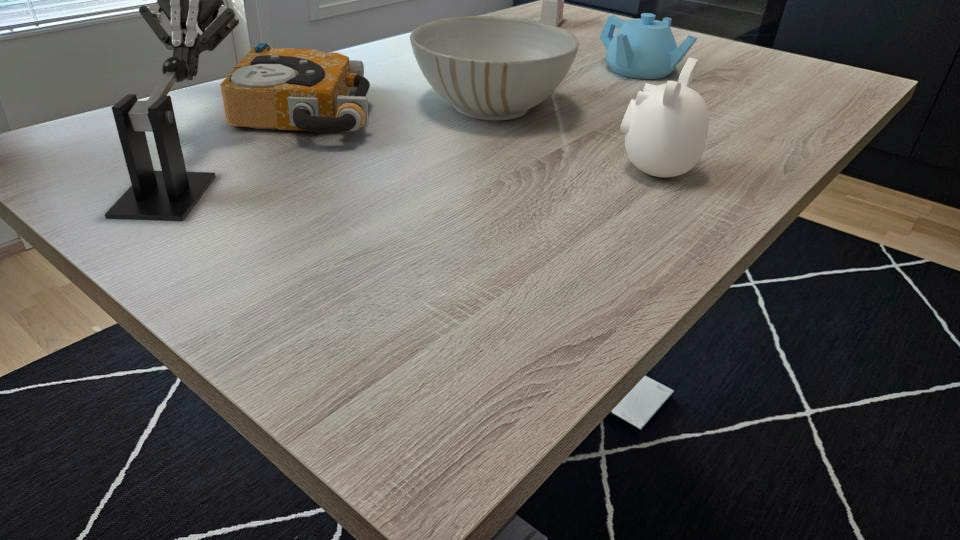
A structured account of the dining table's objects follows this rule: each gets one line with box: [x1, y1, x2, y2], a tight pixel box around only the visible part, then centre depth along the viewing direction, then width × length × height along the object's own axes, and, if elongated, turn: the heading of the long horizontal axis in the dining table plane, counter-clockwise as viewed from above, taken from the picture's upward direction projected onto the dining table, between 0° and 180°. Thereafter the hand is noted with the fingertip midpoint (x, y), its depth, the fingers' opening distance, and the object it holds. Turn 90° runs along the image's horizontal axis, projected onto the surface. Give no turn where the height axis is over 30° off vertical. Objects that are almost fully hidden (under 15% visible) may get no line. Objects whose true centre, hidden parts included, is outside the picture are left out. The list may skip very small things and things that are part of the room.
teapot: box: [598, 12, 698, 80], centre depth 137 cm, size 15×15×11 cm
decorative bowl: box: [409, 15, 580, 121], centre depth 115 cm, size 27×27×12 cm
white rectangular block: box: [540, 0, 565, 27], centre depth 165 cm, size 4×7×10 cm, turn 161°
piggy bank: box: [619, 56, 709, 178], centre depth 95 cm, size 12×12×15 cm
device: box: [219, 42, 371, 134], centre depth 110 cm, size 23×8×30 cm
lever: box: [128, 56, 189, 133], centre depth 85 cm, size 14×3×3 cm, turn 0°
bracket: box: [104, 93, 216, 222], centre depth 84 cm, size 12×9×13 cm
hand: (183, 77), depth 92 cm, fingers closed
